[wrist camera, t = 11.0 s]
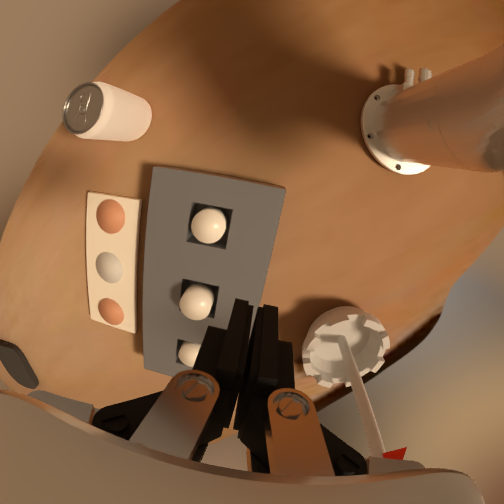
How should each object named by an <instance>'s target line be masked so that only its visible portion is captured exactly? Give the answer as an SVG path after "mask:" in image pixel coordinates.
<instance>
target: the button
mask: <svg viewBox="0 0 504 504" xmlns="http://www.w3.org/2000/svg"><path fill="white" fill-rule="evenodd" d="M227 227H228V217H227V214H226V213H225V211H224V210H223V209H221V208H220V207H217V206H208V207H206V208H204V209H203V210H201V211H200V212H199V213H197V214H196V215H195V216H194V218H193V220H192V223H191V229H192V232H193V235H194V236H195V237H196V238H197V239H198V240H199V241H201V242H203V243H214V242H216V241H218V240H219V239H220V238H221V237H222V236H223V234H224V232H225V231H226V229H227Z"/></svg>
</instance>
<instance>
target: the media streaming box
mask: <svg viewBox="0 0 504 504" xmlns="http://www.w3.org/2000/svg"><path fill="white" fill-rule="evenodd" d="M0 360H1V362H2V364H3V365H4V367H5V368H6V370H7V371H8V373H9V374H10V375H11V376H12V377H13V378H14V379H15V380H16V381H17V382H18V383H19V384H21V385H23V386H25V387H27V388H31V389H35V388H36V387H37V385H38V384H39V381H38V379H37V377H36V375H35V373H34V371H33V370H32V368H31V366H30V364H29V363H28V361H27V359H26V357H25V355H24V354H23V352H22V351H21V350H20V349H19V348H18V347H17V346H16V345H14V344H12V343H9V342H5V341H1V340H0Z"/></svg>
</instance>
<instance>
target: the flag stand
mask: <svg viewBox="0 0 504 504" xmlns="http://www.w3.org/2000/svg"><path fill="white" fill-rule="evenodd" d="M388 348H390V340H389V336H388V334H387V332H386V331H385V329H384V327H383V325H382V324H381V322H380V321H379V320H378V319H377V318H376V317H375V316H373V315H372V314H370V313H367V312H365V311H363V310H361V309H360V308H356V307H352V306H341V307H337V308H333V309H331V310H328V311H326V312H325V313H323V314H321V315H320V316H319V317H318V318H317V319H316V320H315V321H314V322H313V323H312V325H311V326H310V328H309V330H308V333H307V336H306V338H305V340H304V343H303V346H302V359H303V366H304V370H305V372H306V374H307V376H308V375H311V376H313V377H314V378H316V380H317V384H319V385H321V386H324V387H330V388H331V386H332V385H333V383H342V382H345V385H346V387H348V386H352V389H353V392H354V396H355V399H356V402H357V406H358V409H359V412H360V416H361V419H362V422H363V426H364V430H365V434H366V437H367V441H368V445H369V448H370V452H371V456H372V457H379V458H387V459H396V460H403V457H404V454H405V451H406V447H405V448H402V449H398V450H394V451H390V452H386V451H385V448H384V444H383V441H382V438H381V435H380V432H379V429H378V425H377V422H376V419H375V416H374V413H373V410H372V407H371V404H370V402H369V399H368V396H367V393H366V390H365V387H364V384H363V381H362V379H361V376H363V375H364V374H366V373H368V372H369V371H370V370H371V371H372V372H374V373H375V372H376V371H377V370H378V369H379V368H380V367H381V366H382V364H383V363H384V362H385V361H384V359H383V355H384V352H385V350H386V349H388Z"/></svg>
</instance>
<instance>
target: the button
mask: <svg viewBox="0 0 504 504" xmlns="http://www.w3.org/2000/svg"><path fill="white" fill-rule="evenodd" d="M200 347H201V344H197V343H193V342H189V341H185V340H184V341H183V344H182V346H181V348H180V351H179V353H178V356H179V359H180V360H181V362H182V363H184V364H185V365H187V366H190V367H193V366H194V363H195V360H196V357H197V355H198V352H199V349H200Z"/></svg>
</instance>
